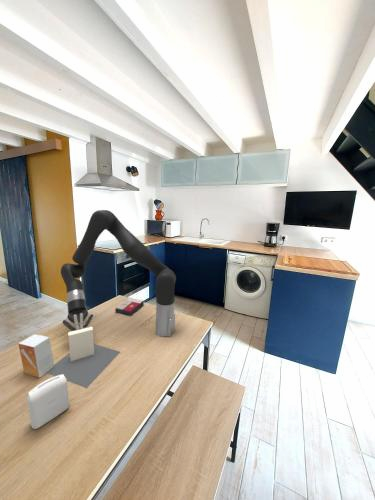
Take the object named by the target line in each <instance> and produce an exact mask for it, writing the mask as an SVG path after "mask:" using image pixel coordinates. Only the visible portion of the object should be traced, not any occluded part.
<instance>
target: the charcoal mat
mask: <svg viewBox="0 0 375 500" xmlns="http://www.w3.org/2000/svg"><path fill="white" fill-rule="evenodd" d="M120 353H121V351H119V350H116V349H113V348H110V347H106V346H102V345H99V344H95V343H94V354H93V355H90V356H87V357H83V358H80V359H77V360H74V361H71V360H70V352H68V353H67V354H66V355H65V356H63V357H62V358H61V359H59V360H58V361H57V362H56V363H54V367H53V368H52V369H50V370H49V371H48V372H46V373H45V374H48V375H50V376H53V377H55V376H58V375H62V374H64V376H65V378H66V379H67V382H69V383H71V384H75V385H77V386H79V387H83V388H85V389H88V387H89V386H90V385H91V384H93V382H94V381H95V380H96V379H97V378H98V377H99V376H100V375H101V374H102V373H103V372H104V370H106V368H108V367H109V365H110V364H111V363H112V362H113V361H114V360H115V359H116V357H118V356H119V354H120Z"/></svg>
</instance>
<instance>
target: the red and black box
mask: <svg viewBox="0 0 375 500" xmlns="http://www.w3.org/2000/svg"><path fill="white" fill-rule="evenodd" d="M144 302H145V301H144V300H142V299H137V298H133V297H129V298H127V299H126V300H124V301H123V302H121V304H119V305H118V306H116V308H115V309H114V310H115V313H117V314H120V315H123V316H128V317H132V316H133V315H135V314H136V313H137V312H138V311H140V310H141V309H142V308H143V307H144V306H145V305H144V304H145V303H144Z"/></svg>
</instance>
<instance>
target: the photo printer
mask: <svg viewBox="0 0 375 500" xmlns="http://www.w3.org/2000/svg"><path fill="white" fill-rule="evenodd" d="M26 399H27V408H28V414H29V420H30V426H31V428H32V429H34V430H38V429H39V428H40V427H42V426H44V425H45V424H47V423H48V422H50V421H52V420H53V419H55V418H56V417H57V416H60V414H62V413H63V412H65V411H66V410H67V409H69V407H70V399H69V389H68V381H67V379H66V378H65V376H64V374H62V375H58V376H53V377H50V378H49V379H46V380H44V381H42V382H41V383H39V384H37V385H36V386H35V387H33V388H32V389H31V390H30V391H29V392H28V393H27V398H26Z"/></svg>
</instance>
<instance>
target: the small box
mask: <svg viewBox="0 0 375 500" xmlns="http://www.w3.org/2000/svg"><path fill="white" fill-rule="evenodd" d="M17 345H18V349H19V353H20V354H19V355H20V358H21V363H22V368H23V373H24V374H27V375H29V376H32V377H36V378H40V379H41V377H43V376H44V375H45V374H47V373H46V372H48V371H49V370H50V369H52V368H53V367H54V364H55V362H54V357H53V350H52V344H51V341H50V336H45V335H42V334H41V335H40V334H37V333H36V334H35V333H34V334H32V335H30V336H29V337H27V338H25V339H24V340H22V341H19V342H18V344H17Z"/></svg>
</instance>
